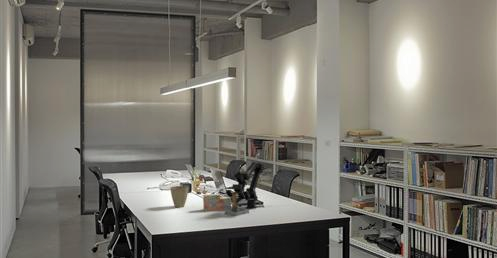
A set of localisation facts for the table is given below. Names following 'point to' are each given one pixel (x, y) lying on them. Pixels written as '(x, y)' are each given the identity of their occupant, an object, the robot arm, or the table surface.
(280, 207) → the table surface
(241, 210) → the tray
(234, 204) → the scraper handle
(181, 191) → the plant pot
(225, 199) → the colourful rectangular box
